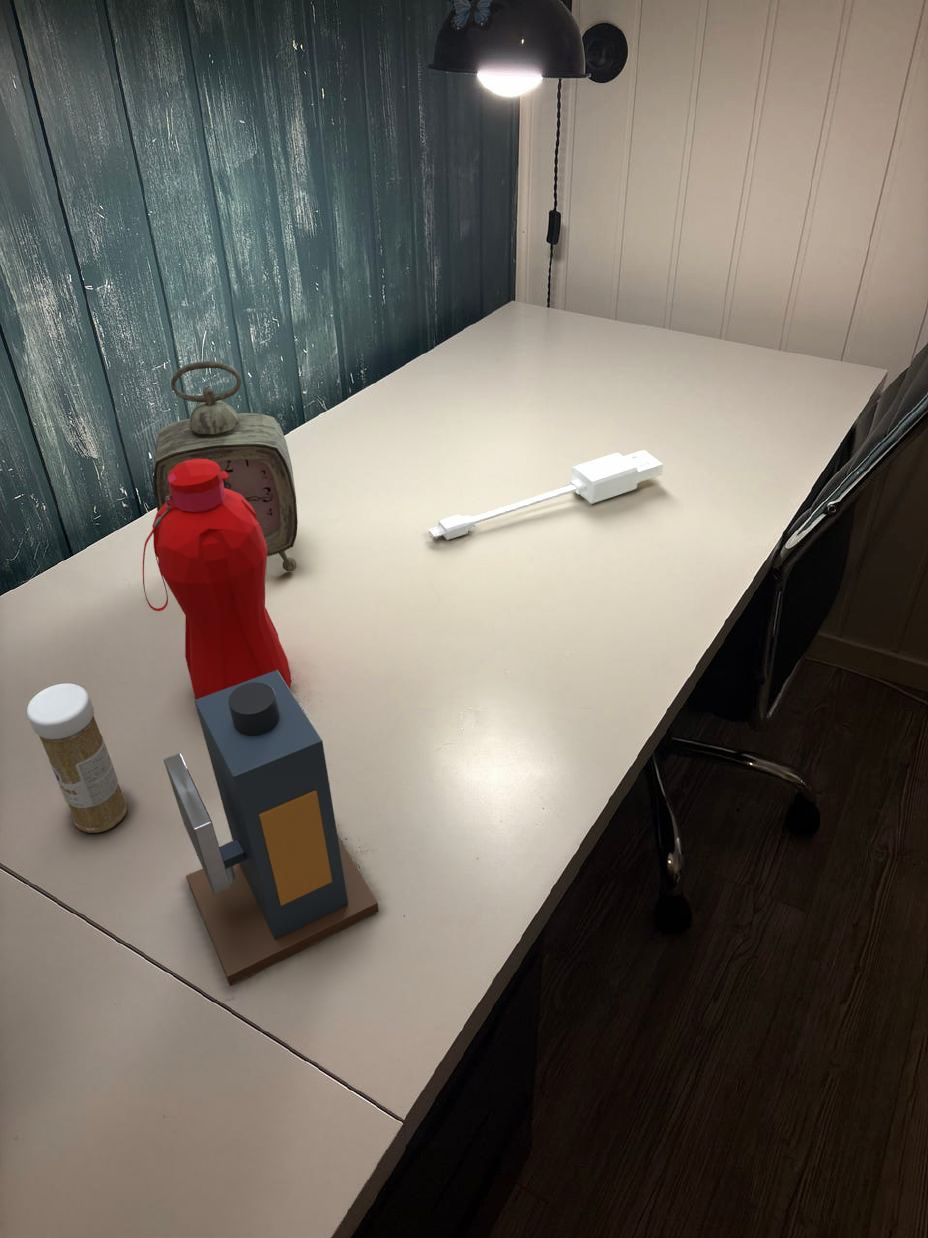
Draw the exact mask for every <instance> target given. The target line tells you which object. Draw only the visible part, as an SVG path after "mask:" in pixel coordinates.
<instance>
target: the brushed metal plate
mask: <svg viewBox="0 0 928 1238" xmlns="http://www.w3.org/2000/svg"><path fill="white" fill-rule="evenodd" d="M163 763H164V766H165V769H166V773H167V776H168V779H169V783H170V785H171V789H172V792H173V795H174V797H175V801H176V804H177V807H178V811H179V814H180V816H181V819H182V822H183V826H184V828H185V830H186V832H187V835H188V837H189V839H190V842H191V844H192V847H193V849H194V851H195V853H196V856H197V859H198V860H199V863H200V865H201V867H202V868H201V869H203V870H204V872H205V875H206V877H207V879H208V882H209V884H210V886H211V889H212V891H213V893H214V894H217V893H219V892H221V891H224V890H226V889H228V888H230V887H231V886H230V882H229V879H228V875H227V872H226V868H225V865H224V861H223V858H222V855H221V851H220V848H219V847H220V844H219V841H218V837H217V834H216V830H215V827H214V824H213V821H212V819H211V817H210V814H209V812H208V810H207V808H206V806H205V803H204V801H203V799H202V797H201V795H200V793H199V790H198V788H197V786H196V784H195V782H194V780H193V777H192V775H191V773H190V771H189V769H188V767H187V765H186V762H185V760H184V758H183V755H182V754H181V753H177V754H174V755H172V756H170V757H167V758H165V759H163Z"/></svg>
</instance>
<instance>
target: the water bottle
mask: <svg viewBox="0 0 928 1238" xmlns="http://www.w3.org/2000/svg"><path fill="white" fill-rule="evenodd" d="M228 478H229V476H228V474H227V472H226V471H223V472H221V469H220V467H219V465H218V464H217V463H216V462H214V461H211V460H208V459H193V460H186V461H184V462H182V463H180V464H178V465H176V466H175V467H174V468H173V469H172V470H171V471H170V473H169V476H168V481H169V487H170V491H171V494H172V495H170V496H166V499H165V500H166V503H165V504H164V505H163V506H162V507H161V509H160V510H159V511H158V512H156V513H155V516H154V520H153V522H152V529H151V530H150V531H151V532H150V533H149V534H148V536H147V538H146V540H145V542H144V546H143V551H142V552H143V553H142V585H143V592H144V596H145V600H146V603H147V604H148V606H149V607H150V609H152V610H153V611H154V612H161V611H164V610H165V609H166V607H167V606H168V604H169V603H168V602H169V595H168V590H167V586H168V588H169V590H170V591H171V593H172V596H174V599H175V601H176V602H177V604H178V606H179V607H180V609H181V611H182V613H183V614H184V616H185V617H184V618H185V619H184V622H185V623H184V625H185V626H184V629H185V630H184V639H185V640H184V657H185V662H186V667H187V670H188V675H189V679H190V684H191V687H192V691H193V696H194V699H195V700H196V699H199V698H202V697H205V696H207V695H210V694H213V693H215V692H218V691H221V690H224V689H226V688H229V687H232V686H235V685H237V684H240V683H243V682H246V681H248V680H251V679H254V678H256V677H259V676H262V675H265V674H267V673H270V672H273V671H276V670H278V672H279V673H280V675H281V676H282V678H283V679H284V681H285V683H286V684H287V686H288V687H289V689H290V690H291V687H292V681H293V680H292V676H291V675H292V674H291V671H290V666H289V660H288V657H287V655H286V653H285V650H284V648H283V646H282V644H281V642H280V638H279V637H280V636H279V634H278V631H277V629H276V627H275V625H274V622H273V620H272V619H271V616H270V614H269V612H268V609H267V608H266V573H267V572H266V571H267V561H268V556H267V545H266V541H265V538H264V535H263V532H262V529H261V526H260V524H259V523H258V522H257V517H256V513H255V511H254V510H253V508H252V506H251V505H250V503H249V502H248V501H247V500H246V499H245V498H244V497H243V496H242V495H241V494H239V493H236V492H234V491H232V490H229V489H226V488H224V483H223V480H224V479H228ZM167 498H168V499H167ZM151 537H153V551H154V555H155V560H156V563H157V566H158V571H159V574H160V576H161V579H162V582H163V586H164V588H165V589H164V590H165V595H166V599H165V600H166V601H165V603H164V604H163V606H162V607H158V608H157V607H154V606H153V605H152V604H151V603H150V601H149V599H148V596H147V592H146V587H145V586H146V585H145V556H146V550H147V549H146V548H147V544H148V542H149V540H150V539H151ZM165 582H166V583H165ZM166 584H167V586H166ZM195 700H194V701H195Z"/></svg>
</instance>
